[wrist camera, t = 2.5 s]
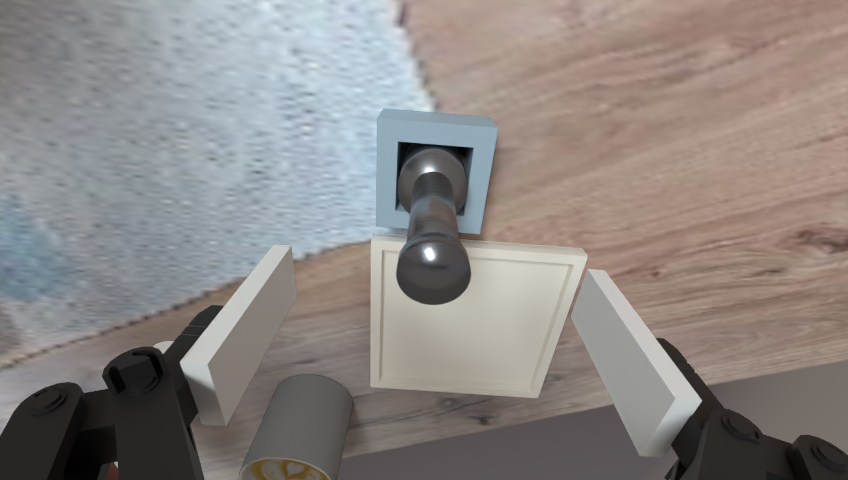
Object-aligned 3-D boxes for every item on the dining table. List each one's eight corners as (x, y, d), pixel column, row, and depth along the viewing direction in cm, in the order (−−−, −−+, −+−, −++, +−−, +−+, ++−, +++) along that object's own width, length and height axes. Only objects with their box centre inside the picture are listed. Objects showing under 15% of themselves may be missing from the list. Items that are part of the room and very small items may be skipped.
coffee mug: (330, 366, 43) (304, 449, 34) (365, 415, 48) (350, 500, 39) (236, 390, 46) (190, 474, 37) (278, 435, 50) (246, 519, 41)
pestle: (404, 132, 29) (379, 222, 15) (465, 137, 30) (498, 231, 15) (401, 189, 32) (377, 314, 17) (458, 194, 32) (479, 321, 18)
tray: (373, 232, 34) (371, 240, 33) (581, 248, 34) (587, 256, 33) (372, 376, 44) (370, 387, 42) (534, 387, 44) (537, 398, 43)
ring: (383, 108, 29) (377, 118, 25) (490, 117, 29) (498, 128, 25) (381, 206, 33) (375, 226, 29) (474, 213, 33) (479, 234, 29)
